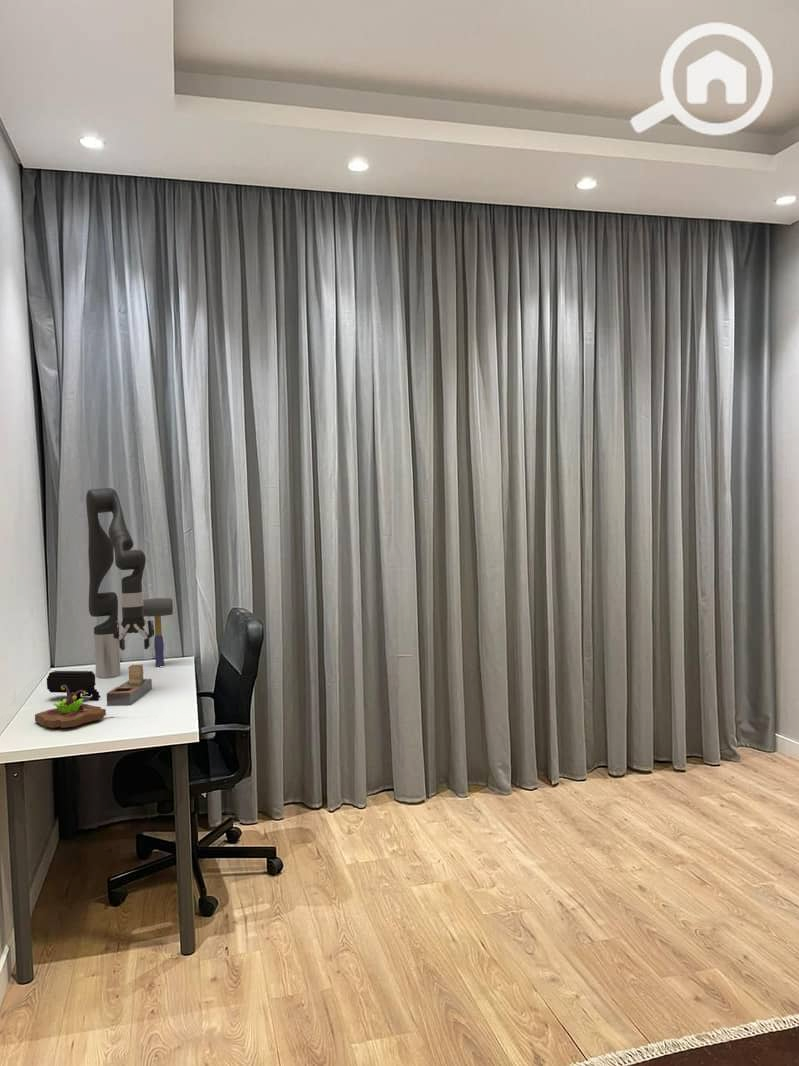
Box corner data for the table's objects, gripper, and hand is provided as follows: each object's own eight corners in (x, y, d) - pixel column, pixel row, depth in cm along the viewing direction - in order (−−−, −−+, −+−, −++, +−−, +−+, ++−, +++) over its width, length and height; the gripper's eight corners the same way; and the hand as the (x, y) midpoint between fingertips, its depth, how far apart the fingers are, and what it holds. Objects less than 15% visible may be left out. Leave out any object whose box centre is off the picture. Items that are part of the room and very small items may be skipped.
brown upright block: (133, 689, 314) (132, 664, 313) (144, 688, 314) (142, 664, 313) (129, 691, 310) (128, 666, 309) (140, 691, 310) (139, 666, 309)
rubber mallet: (176, 667, 358) (173, 596, 357) (175, 671, 350) (171, 598, 349) (145, 670, 355) (142, 598, 354) (143, 673, 348) (140, 600, 347)
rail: (130, 690, 317) (130, 678, 317) (152, 689, 317) (151, 677, 316) (107, 705, 293) (106, 693, 293) (130, 705, 293) (129, 692, 292)
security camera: (93, 702, 298) (92, 674, 298) (45, 702, 302) (44, 673, 301) (104, 698, 305) (102, 670, 305) (57, 697, 309) (56, 669, 308)
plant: (79, 709, 291) (78, 676, 291) (114, 716, 280) (113, 682, 279) (24, 722, 275) (22, 687, 275) (58, 730, 263) (57, 694, 263)
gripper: (155, 603, 314) (157, 647, 314) (116, 604, 314) (118, 648, 315) (148, 605, 307) (150, 650, 307) (109, 606, 307) (111, 651, 307)
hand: (134, 649), depth 311 cm, fingers open, 8 cm apart
